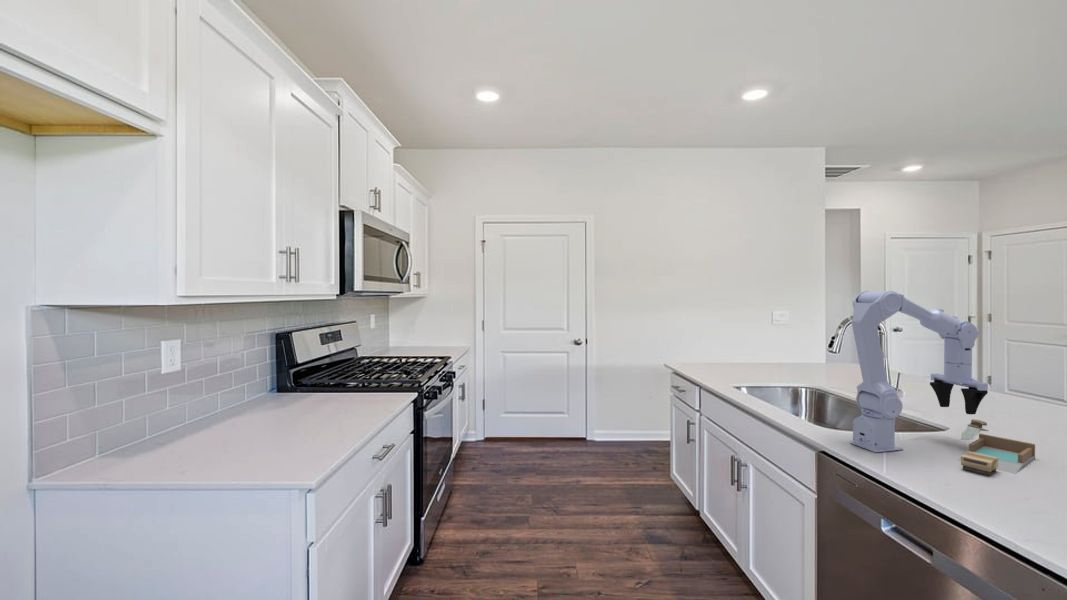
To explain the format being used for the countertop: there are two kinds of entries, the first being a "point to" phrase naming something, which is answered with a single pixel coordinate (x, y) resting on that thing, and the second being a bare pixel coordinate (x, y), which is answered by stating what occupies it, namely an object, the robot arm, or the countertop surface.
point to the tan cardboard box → (979, 463)
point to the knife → (973, 429)
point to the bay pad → (998, 454)
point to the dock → (1005, 451)
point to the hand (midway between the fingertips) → (957, 410)
